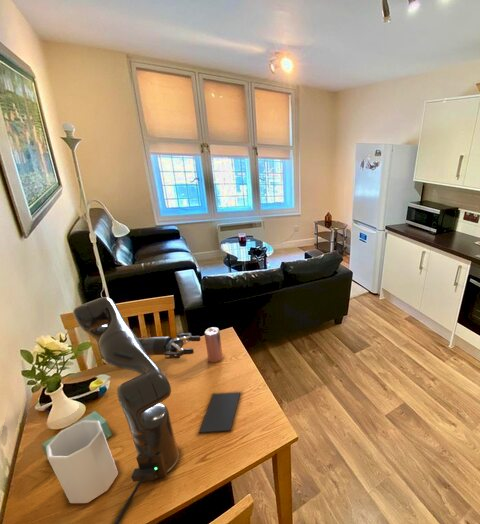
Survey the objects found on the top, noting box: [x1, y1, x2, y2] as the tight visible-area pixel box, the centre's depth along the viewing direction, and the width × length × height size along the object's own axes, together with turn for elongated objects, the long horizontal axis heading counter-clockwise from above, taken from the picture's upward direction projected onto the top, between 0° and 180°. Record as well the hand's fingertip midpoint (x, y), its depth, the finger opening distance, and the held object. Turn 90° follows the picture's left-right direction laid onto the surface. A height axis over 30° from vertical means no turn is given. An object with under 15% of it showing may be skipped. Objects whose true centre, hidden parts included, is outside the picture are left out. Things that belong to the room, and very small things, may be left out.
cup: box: [46, 421, 119, 504], centre depth 78 cm, size 11×11×18 cm
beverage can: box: [204, 326, 223, 363], centre depth 127 cm, size 6×6×15 cm
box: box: [41, 410, 113, 458], centre depth 89 cm, size 7×14×8 cm, turn 153°
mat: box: [199, 392, 241, 434], centre depth 105 cm, size 16×10×1 cm, turn 8°
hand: (196, 344), depth 126 cm, fingers open, 8 cm apart
